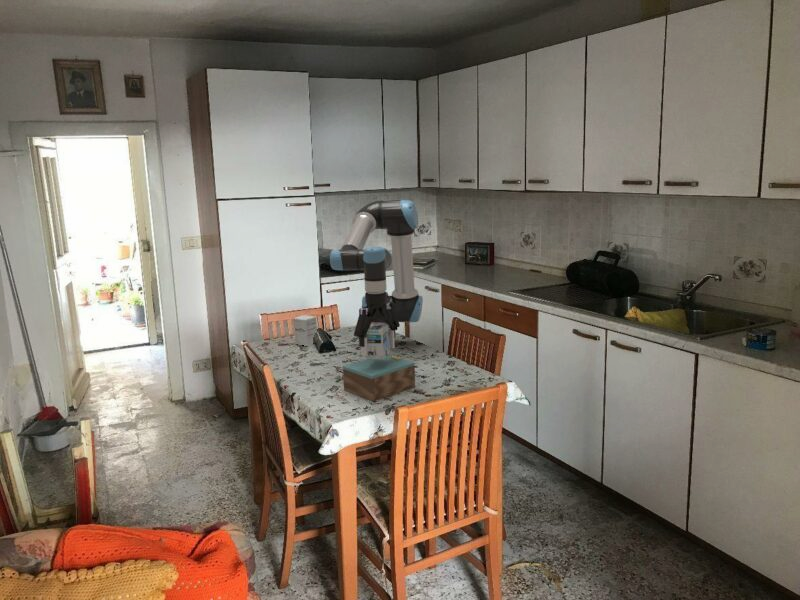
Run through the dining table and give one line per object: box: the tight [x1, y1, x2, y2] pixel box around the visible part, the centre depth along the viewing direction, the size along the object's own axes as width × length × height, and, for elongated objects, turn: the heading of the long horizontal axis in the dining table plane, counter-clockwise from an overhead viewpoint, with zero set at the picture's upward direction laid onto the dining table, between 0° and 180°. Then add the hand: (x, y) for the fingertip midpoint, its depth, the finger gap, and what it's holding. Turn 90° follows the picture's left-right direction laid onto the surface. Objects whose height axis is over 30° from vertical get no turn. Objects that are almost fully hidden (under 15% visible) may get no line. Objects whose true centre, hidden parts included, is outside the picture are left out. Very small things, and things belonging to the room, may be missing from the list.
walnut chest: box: [342, 365, 416, 402], centre depth 232 cm, size 20×16×8 cm
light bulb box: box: [365, 322, 391, 360], centre depth 229 cm, size 11×7×11 cm, turn 168°
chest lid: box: [342, 354, 415, 379], centre depth 231 cm, size 20×16×2 cm
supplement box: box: [293, 314, 318, 347], centre depth 291 cm, size 7×7×13 cm
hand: (378, 351), depth 229 cm, fingers closed on light bulb box, 12 cm apart
